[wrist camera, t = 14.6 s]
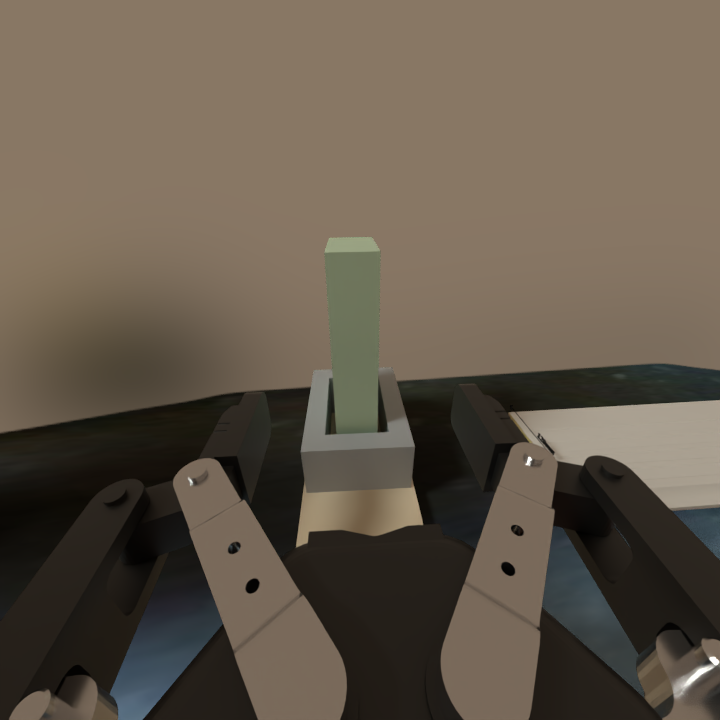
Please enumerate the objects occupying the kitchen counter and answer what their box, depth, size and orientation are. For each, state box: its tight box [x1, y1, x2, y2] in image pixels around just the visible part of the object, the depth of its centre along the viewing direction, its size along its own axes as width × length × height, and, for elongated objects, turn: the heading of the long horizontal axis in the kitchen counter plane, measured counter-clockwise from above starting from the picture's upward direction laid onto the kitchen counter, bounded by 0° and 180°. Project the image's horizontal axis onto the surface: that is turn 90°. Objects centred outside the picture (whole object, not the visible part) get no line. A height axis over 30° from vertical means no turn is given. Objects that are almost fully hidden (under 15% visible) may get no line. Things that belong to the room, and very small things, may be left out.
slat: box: [324, 237, 380, 434], centre depth 23 cm, size 3×6×16 cm, turn 2°
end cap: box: [301, 367, 415, 493], centre depth 26 cm, size 8×10×4 cm
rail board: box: [296, 413, 423, 547], centre depth 22 cm, size 8×22×1 cm, turn 3°
